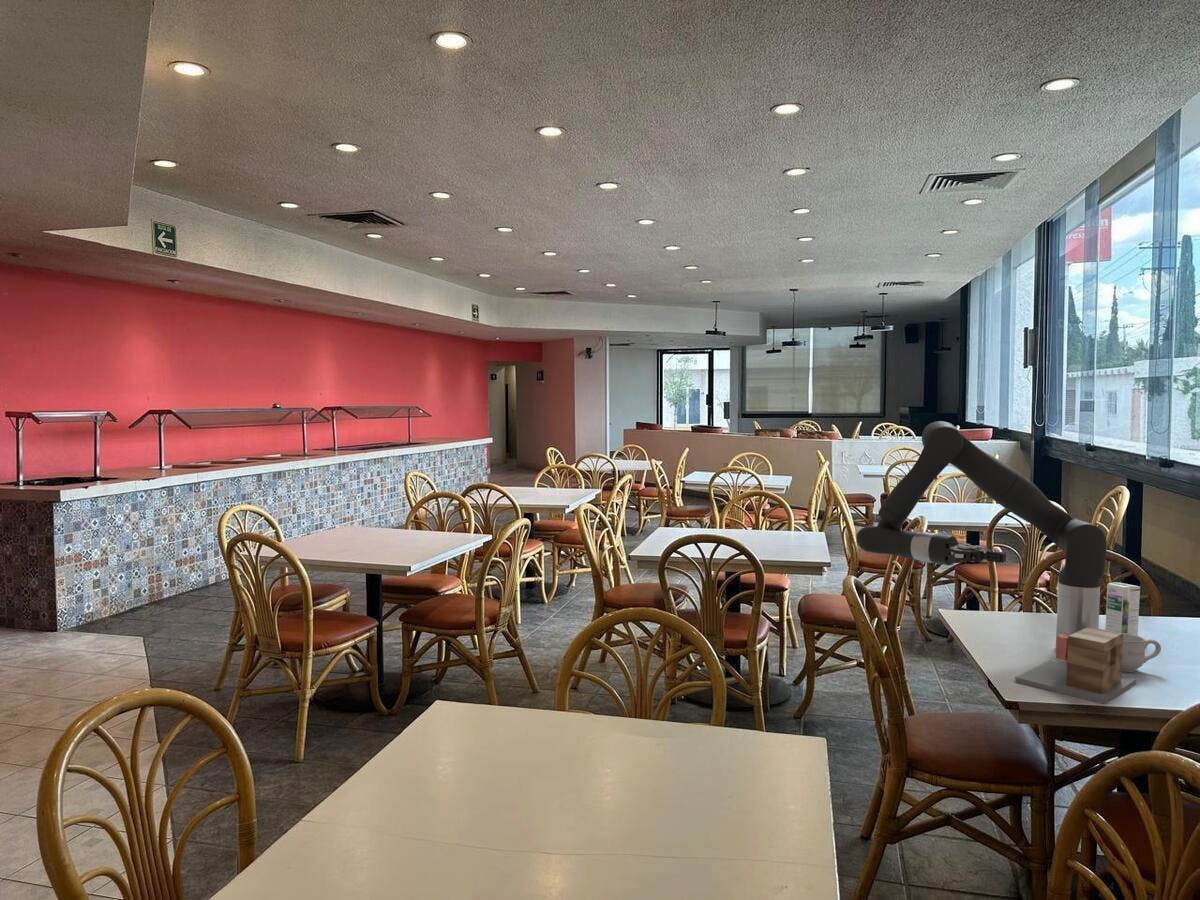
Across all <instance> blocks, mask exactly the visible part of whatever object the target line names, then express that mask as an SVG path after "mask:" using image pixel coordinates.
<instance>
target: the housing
mask: <svg viewBox="0 0 1200 900" xmlns="http://www.w3.org/2000/svg"><path fill="white" fill-rule="evenodd" d="M1122 649H1123V633H1118V632H1113V631H1108V630H1105V629H1102V628H1098V629H1097V628H1092V627H1087V628H1084V629H1082V630H1080V631H1078V632H1076V633H1074V634H1071V635H1069V636H1068V655H1067V660H1066V664H1067V679H1066V686H1070V687H1074V688H1078V689H1082V690H1087V691H1091V692H1095V693H1099V694H1103V693H1105V692H1106V691H1108V690H1110V689H1111V688H1113V687H1114V686H1116V685H1118V684H1119V683H1121V676H1122Z"/></svg>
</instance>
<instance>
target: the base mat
mask: <svg viewBox="0 0 1200 900" xmlns="http://www.w3.org/2000/svg"><path fill="white" fill-rule="evenodd" d="M1066 679H1067V663H1065V662H1059V661H1056V660H1051V659H1049V660H1047V661H1045V662H1042V663H1041V664H1040V665H1038V666H1036V667H1033V668H1031V669H1029V670H1027V671H1025V672H1023V673H1021V674H1019V675H1017V676H1015V677H1014V681H1015V682H1016V683H1020V684H1023V685H1026V686H1027V685H1028V686H1031V687H1035V688H1040V689H1043V690H1047V691H1050V690H1052V691H1051V692H1054V691H1056V692H1055V693H1058V692H1061V693H1060V694H1062V693H1065V694H1064V695H1066V694H1069V695H1068V696H1070V695H1073V696H1072V697H1074V696H1077V697H1076V698H1078V697H1081V698H1080V699H1082V698H1085V699H1084V700H1086V699H1089V700H1088V701H1090V700H1093V701H1092V702H1094V701H1096V702H1095V703H1098V702H1100V703H1099V704H1102V703H1103V704H1104V705H1105V704H1107V703H1110V701H1112V700H1113V699H1115V698H1116V697H1118V696H1120V695H1121V694H1122V693H1124V692H1125V691H1127V690H1128V689H1131V688H1132V687H1133V686H1135V685H1136V684H1137V679H1135V678H1132V677H1128V676H1123V675H1121V683H1119V684H1118V685H1116V686H1114V687H1113V688H1111V689H1110V690H1108V691H1106V692H1105V693H1103V694H1099V693H1095V692H1091V691H1087V690H1082V689H1078V688H1074V687H1070V686H1066ZM1015 682H1014V683H1015Z"/></svg>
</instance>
